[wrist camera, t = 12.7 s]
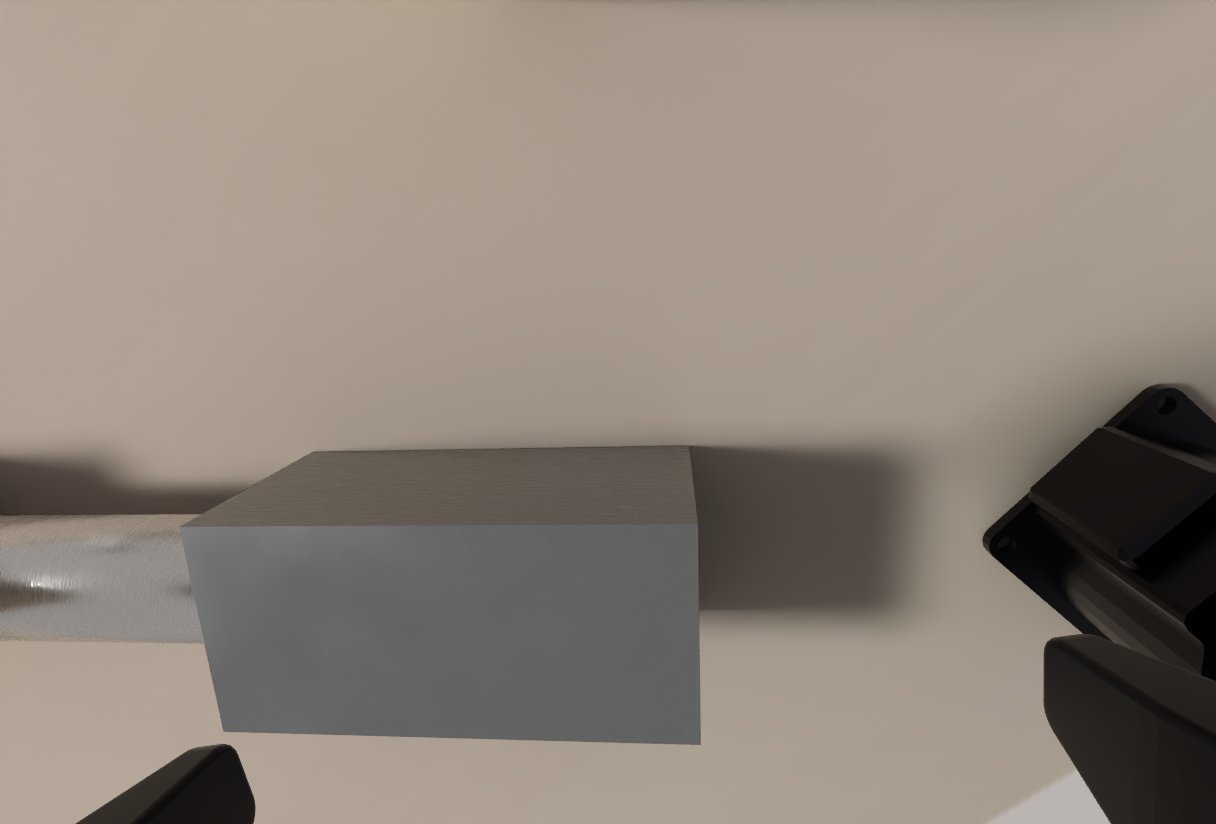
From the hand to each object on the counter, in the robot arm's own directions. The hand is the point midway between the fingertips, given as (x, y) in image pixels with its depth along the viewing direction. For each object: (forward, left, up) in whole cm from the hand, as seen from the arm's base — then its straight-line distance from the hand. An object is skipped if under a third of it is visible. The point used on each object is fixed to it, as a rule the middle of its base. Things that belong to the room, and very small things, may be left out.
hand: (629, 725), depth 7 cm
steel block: (+1, +6, -13) cm, 14 cm away
